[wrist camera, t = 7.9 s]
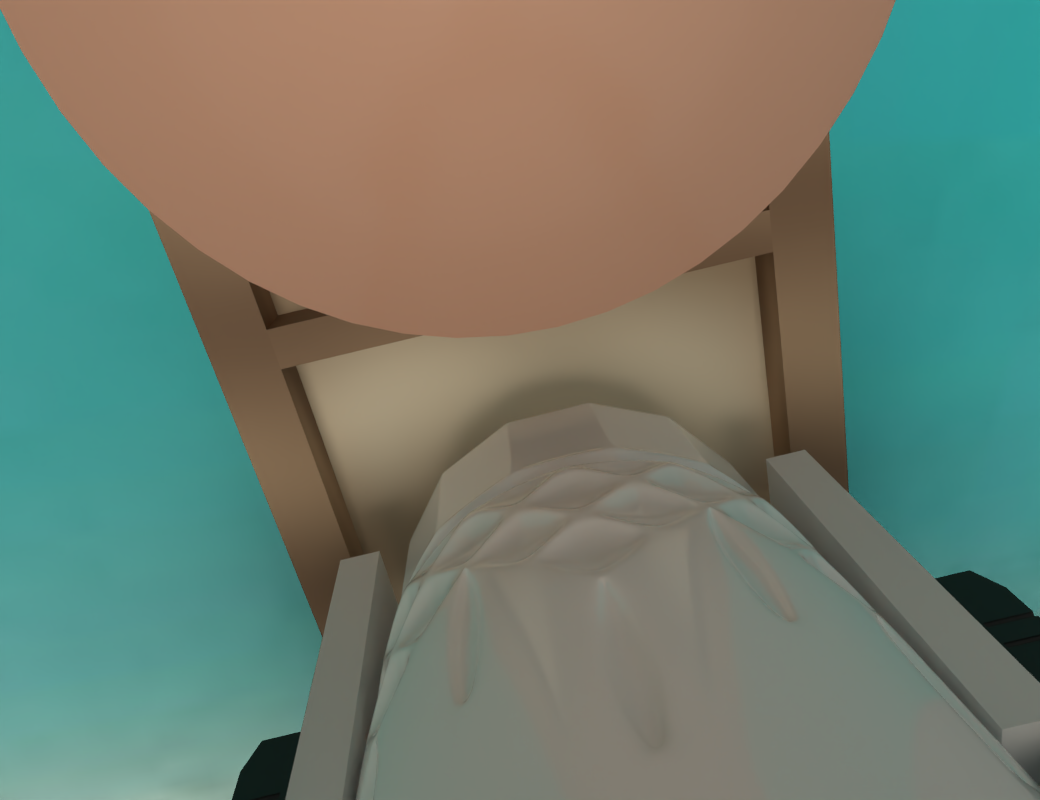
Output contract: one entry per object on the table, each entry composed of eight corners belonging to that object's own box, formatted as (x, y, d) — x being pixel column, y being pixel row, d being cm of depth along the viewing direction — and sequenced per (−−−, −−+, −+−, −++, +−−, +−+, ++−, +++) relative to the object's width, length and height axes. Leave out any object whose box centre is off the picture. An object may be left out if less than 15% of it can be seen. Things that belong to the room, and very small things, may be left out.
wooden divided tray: (817, 607, 20) (858, 663, 18) (386, 709, 20) (379, 777, 18) (730, -493, 12) (788, -616, 10) (-7, -317, 12) (-100, -402, 10)
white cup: (856, 516, 15) (1514, 1189, 6) (603, 765, 17) (790, 1570, 8) (553, 281, 13) (836, 777, 3) (299, 601, 15) (41, 1473, 5)
